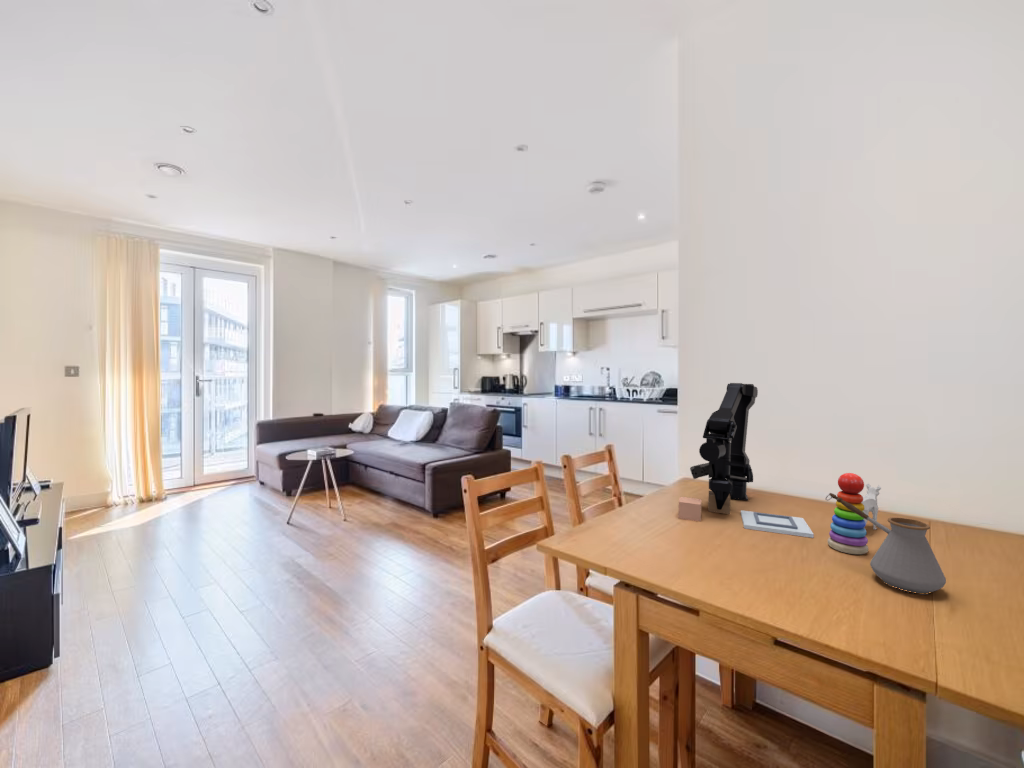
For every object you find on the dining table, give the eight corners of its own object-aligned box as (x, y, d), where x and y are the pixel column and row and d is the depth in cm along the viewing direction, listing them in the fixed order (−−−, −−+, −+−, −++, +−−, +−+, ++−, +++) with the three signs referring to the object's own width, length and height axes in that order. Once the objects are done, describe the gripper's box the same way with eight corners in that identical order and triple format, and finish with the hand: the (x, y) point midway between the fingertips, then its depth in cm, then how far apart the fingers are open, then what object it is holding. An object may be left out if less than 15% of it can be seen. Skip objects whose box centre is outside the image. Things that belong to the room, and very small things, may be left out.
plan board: (740, 513, 134) (740, 508, 133) (802, 521, 127) (803, 515, 127) (744, 528, 121) (744, 522, 121) (813, 537, 114) (813, 531, 114)
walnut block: (708, 506, 141) (708, 490, 141) (729, 508, 138) (729, 492, 138) (708, 511, 135) (708, 495, 135) (730, 514, 133) (730, 497, 133)
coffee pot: (958, 593, 86) (961, 517, 86) (926, 604, 82) (929, 524, 81) (840, 551, 106) (842, 489, 105) (809, 559, 101) (811, 494, 101)
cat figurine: (884, 526, 124) (885, 476, 123) (855, 541, 113) (857, 486, 112) (864, 521, 127) (866, 473, 127) (835, 535, 116) (837, 482, 116)
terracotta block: (679, 512, 134) (680, 496, 134) (701, 515, 132) (701, 499, 131) (678, 518, 129) (678, 501, 128) (700, 521, 126) (701, 504, 126)
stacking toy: (820, 545, 109) (822, 470, 109) (839, 540, 112) (841, 468, 112) (856, 558, 102) (858, 478, 101) (875, 552, 105) (878, 474, 105)
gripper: (693, 449, 148) (691, 495, 149) (691, 459, 131) (689, 511, 132) (729, 452, 144) (728, 500, 144) (732, 463, 127) (731, 517, 127)
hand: (718, 506), depth 137 cm, fingers closed on walnut block, 6 cm apart
